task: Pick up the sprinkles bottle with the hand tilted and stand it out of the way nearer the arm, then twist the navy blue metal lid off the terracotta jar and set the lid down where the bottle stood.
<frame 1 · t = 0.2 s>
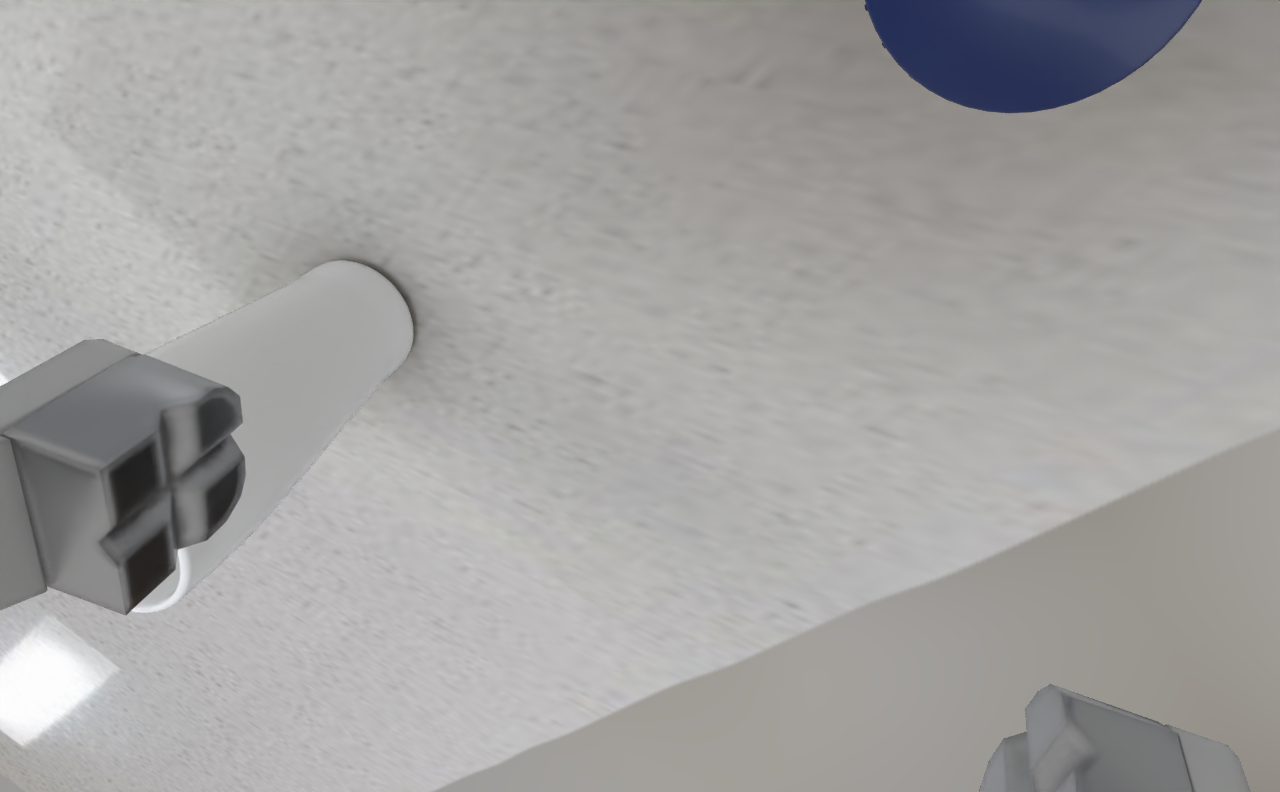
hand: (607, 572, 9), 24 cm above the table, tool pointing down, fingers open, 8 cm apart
drinking glass: (365, 311, 38), on the table
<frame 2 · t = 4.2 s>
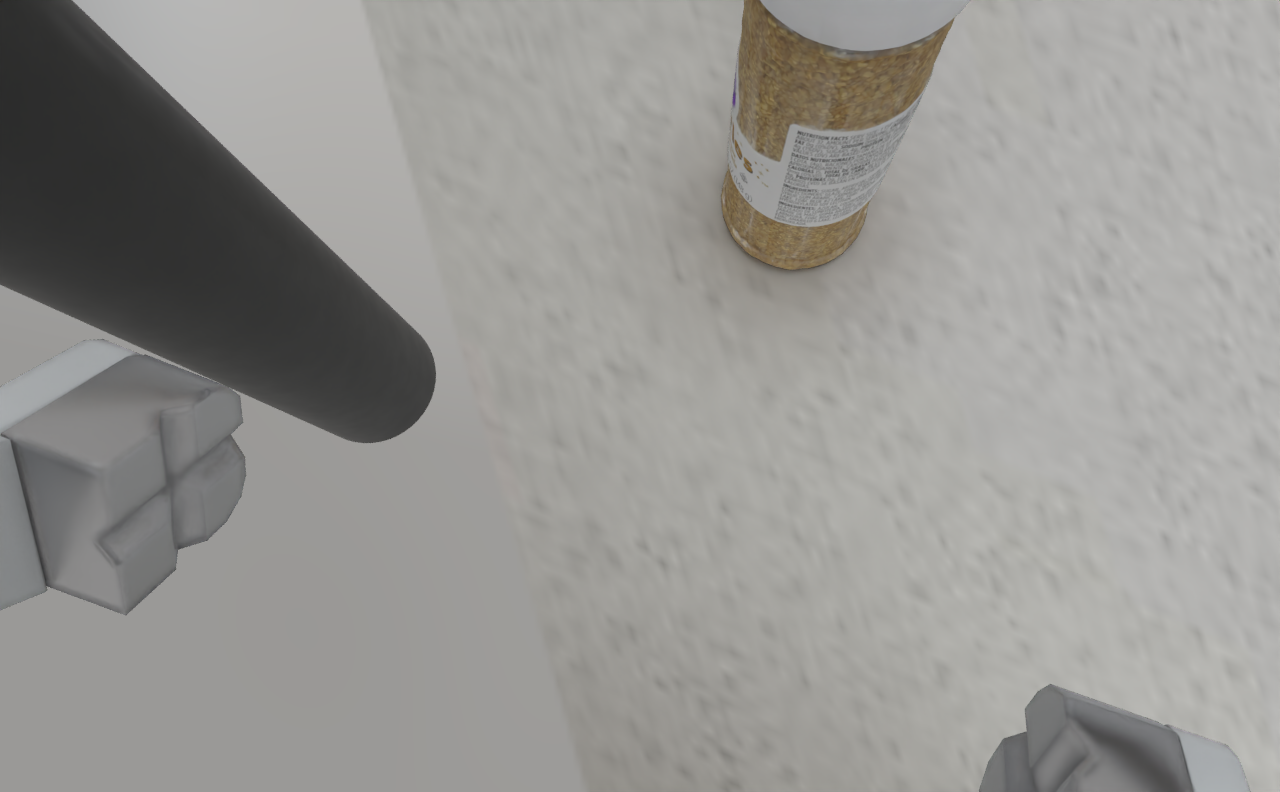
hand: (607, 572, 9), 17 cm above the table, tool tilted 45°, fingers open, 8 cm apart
sprinkles bottle: (792, 209, 28), on the table
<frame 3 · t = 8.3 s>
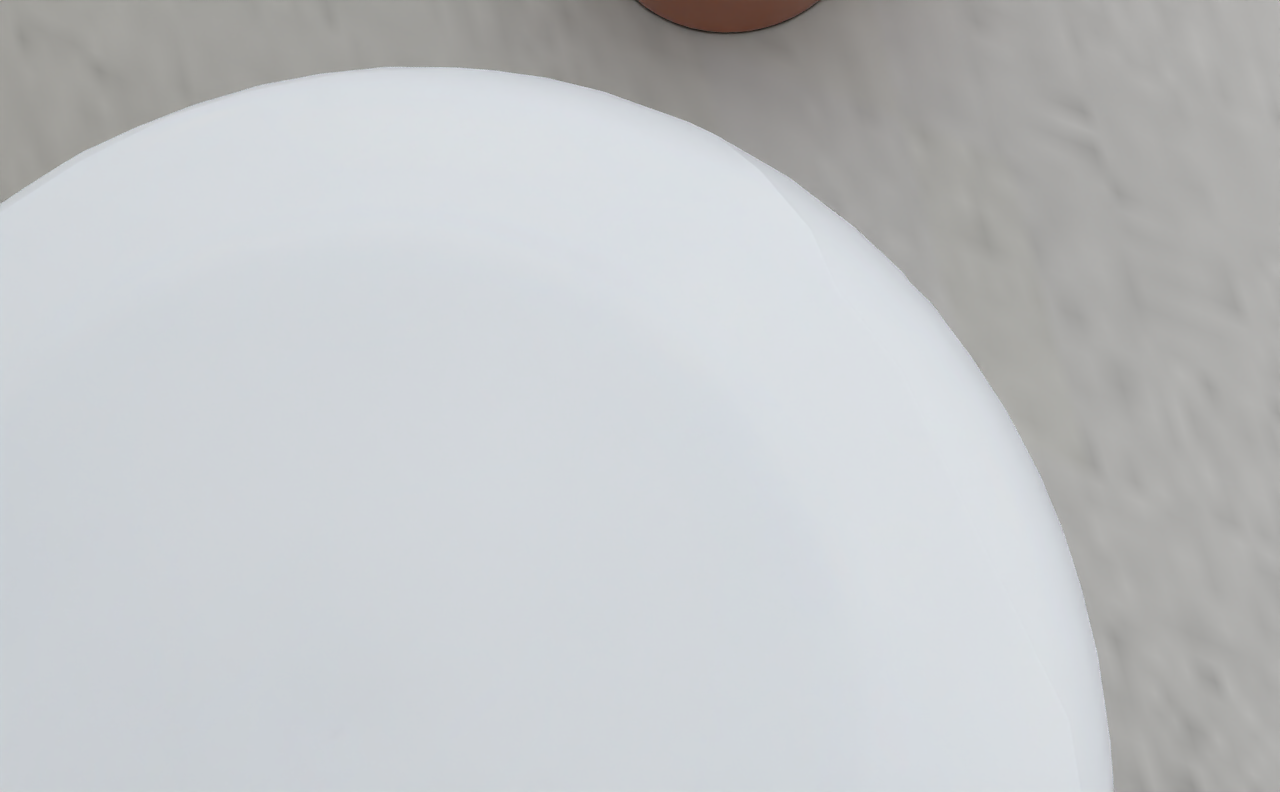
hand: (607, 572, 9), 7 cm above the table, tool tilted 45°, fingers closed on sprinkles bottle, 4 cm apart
sprinkles bottle: (634, 618, 16), on the table, touching gripper
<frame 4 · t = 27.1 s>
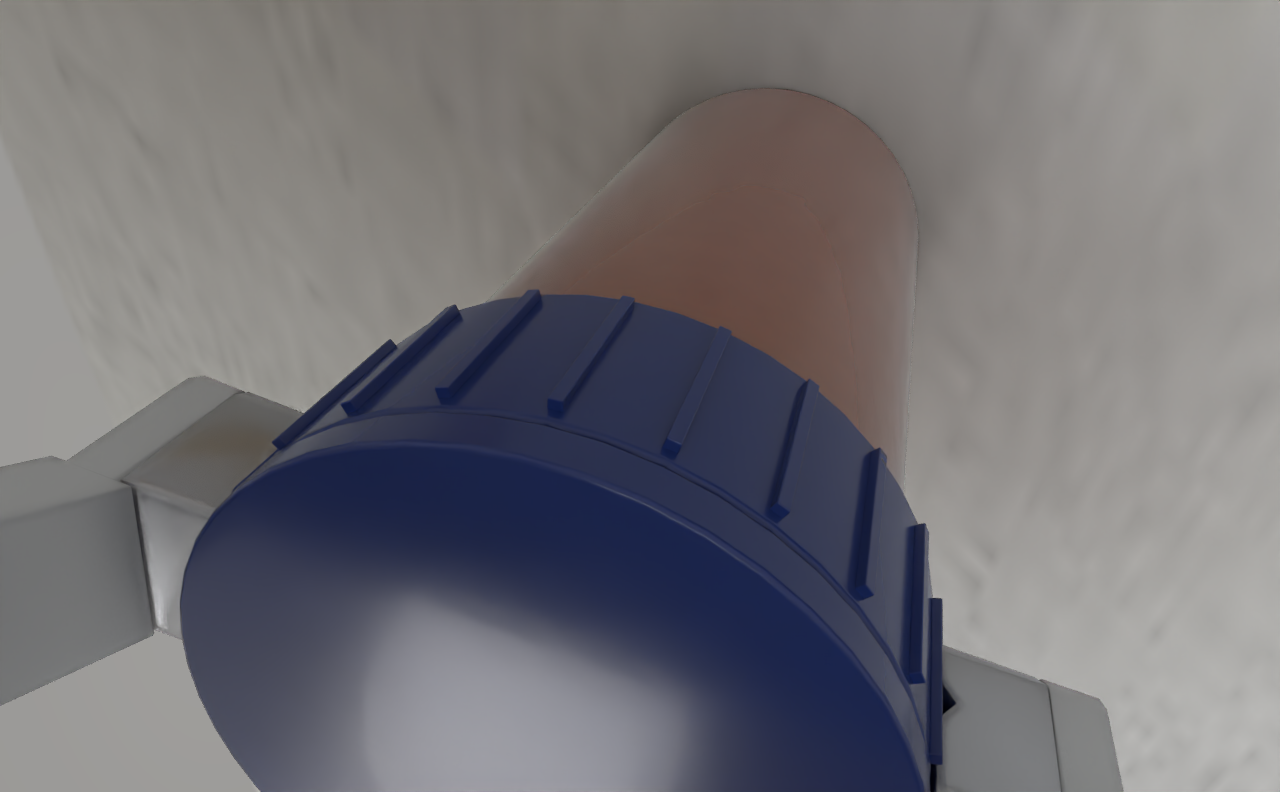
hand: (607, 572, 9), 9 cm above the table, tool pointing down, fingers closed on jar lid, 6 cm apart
jar lid: (538, 729, 7), point 11 cm above the table, screwed on, not yet turned, touching gripper
jar: (763, 240, 16), on the table
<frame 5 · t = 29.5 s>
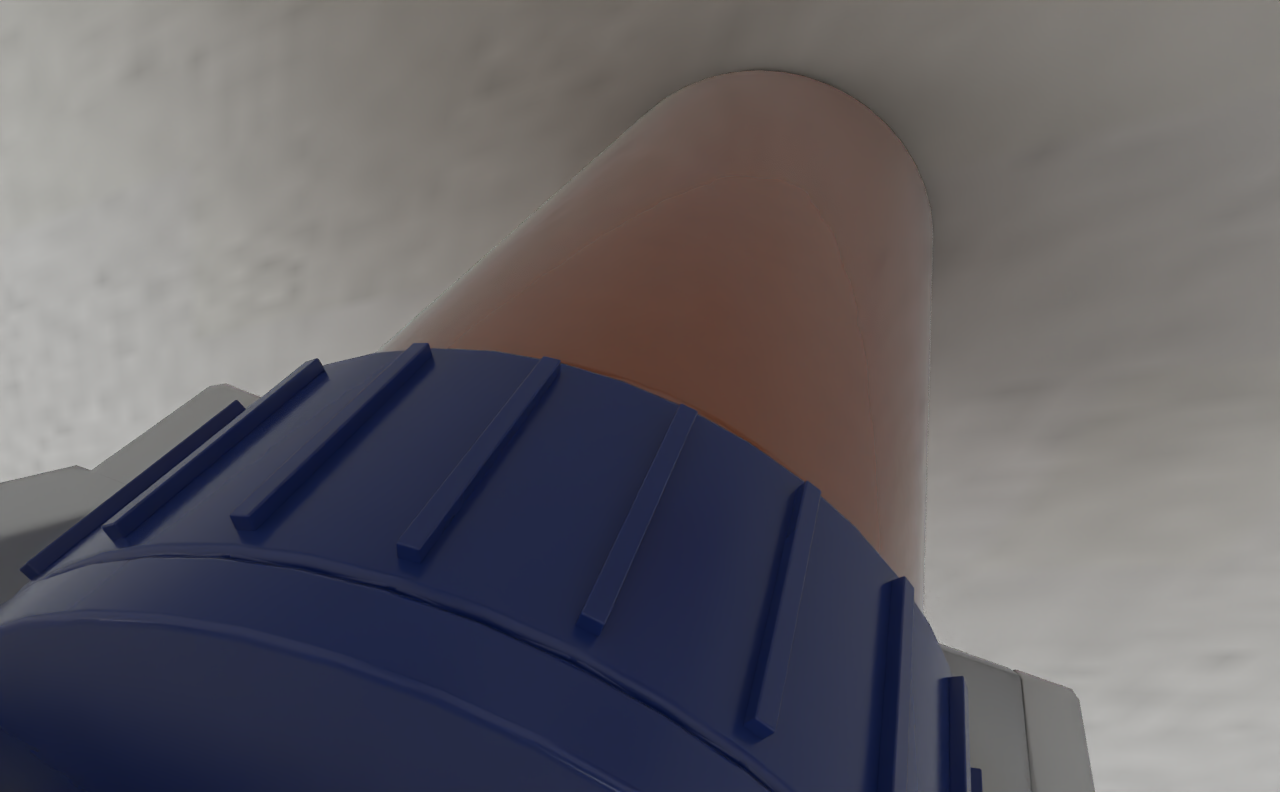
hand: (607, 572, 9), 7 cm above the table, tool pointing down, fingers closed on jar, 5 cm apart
jar: (757, 244, 14), on the table, touching gripper
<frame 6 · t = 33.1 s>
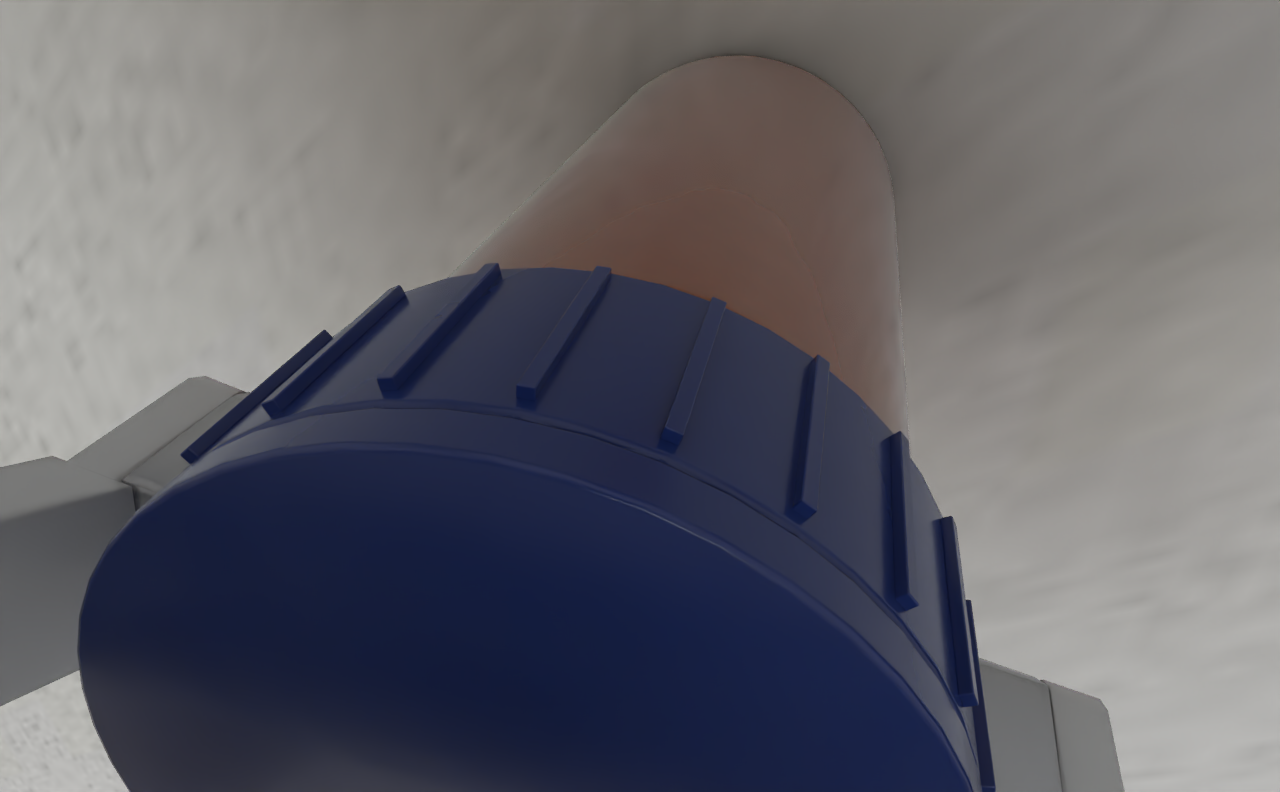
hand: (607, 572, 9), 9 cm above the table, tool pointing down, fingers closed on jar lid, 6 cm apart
jar lid: (518, 778, 6), point 12 cm above the table, turned 106° so far, risen 0.3 cm, still on its thread, touching gripper
jar: (734, 216, 16), on the table
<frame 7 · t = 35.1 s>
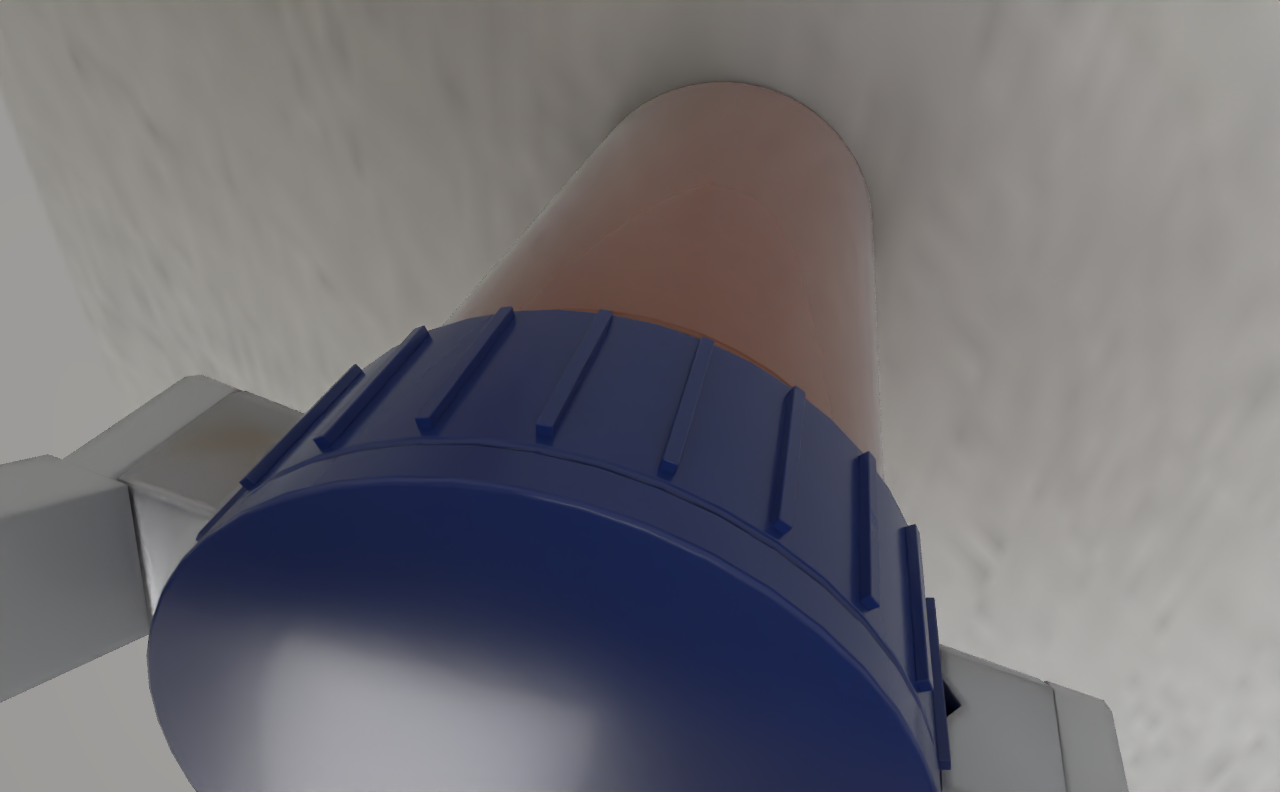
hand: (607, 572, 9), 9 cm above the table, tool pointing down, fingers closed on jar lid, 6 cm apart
jar lid: (535, 761, 7), point 12 cm above the table, turned 118° so far, risen 0.3 cm, still on its thread, touching gripper
jar: (721, 232, 16), on the table
when the fingers open (0 cm above the table, at t = 45.3 s): jar lid stays where it is, point 2 cm above the table.
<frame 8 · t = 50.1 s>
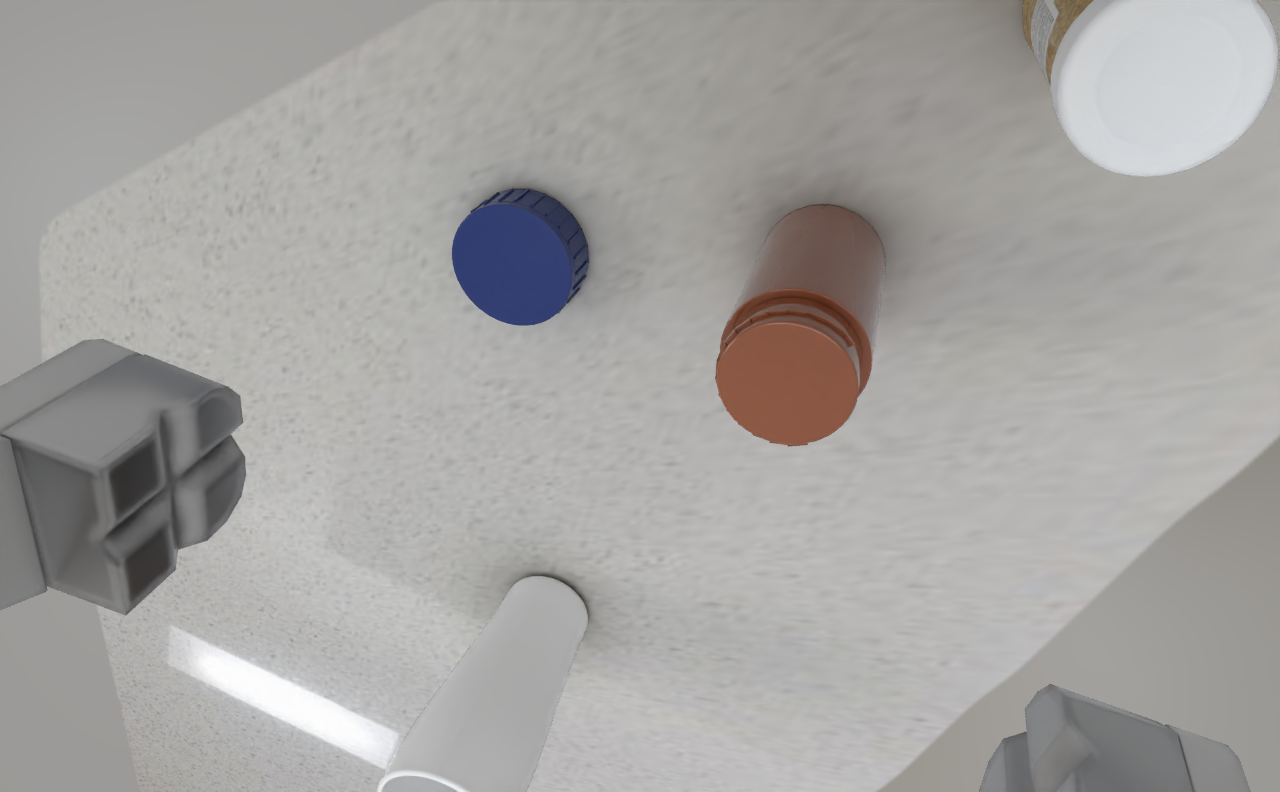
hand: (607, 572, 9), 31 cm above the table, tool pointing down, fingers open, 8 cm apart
jar lid: (514, 264, 41), point 2 cm above the table, off its thread
jar: (822, 263, 39), on the table
drinking glass: (551, 602, 55), on the table
sprinkles bottle: (1087, 5, 32), on the table
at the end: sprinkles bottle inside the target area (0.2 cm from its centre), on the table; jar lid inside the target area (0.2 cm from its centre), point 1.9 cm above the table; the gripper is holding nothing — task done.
